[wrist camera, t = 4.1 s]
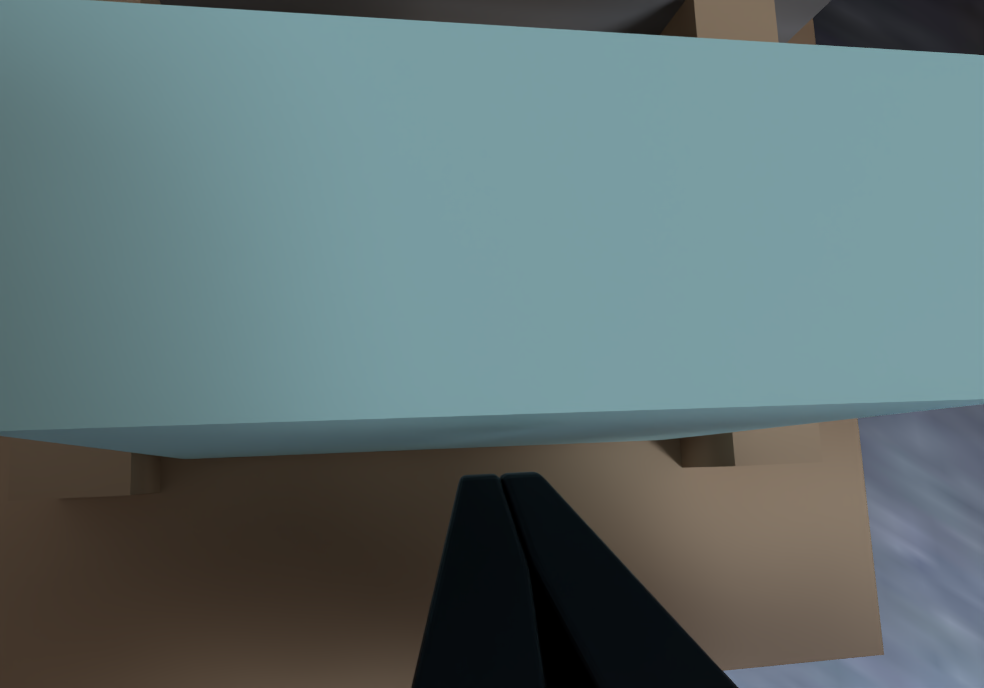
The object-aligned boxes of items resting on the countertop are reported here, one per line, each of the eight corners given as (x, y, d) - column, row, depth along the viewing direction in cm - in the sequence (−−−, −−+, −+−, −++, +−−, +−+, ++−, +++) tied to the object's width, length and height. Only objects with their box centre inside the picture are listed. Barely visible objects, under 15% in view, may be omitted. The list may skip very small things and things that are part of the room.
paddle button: (662, 439, 15) (1044, 397, 7) (185, 459, 13) (-30, 432, 5) (650, 274, 15) (993, 55, 7) (187, 273, 13) (-9, -6, 6)
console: (834, 638, 16) (1754, 932, 6) (-63, 723, 13) (-1608, 1692, 3) (767, -13, 18) (1352, -668, 8) (-20, -72, 15) (-793, -1284, 5)
